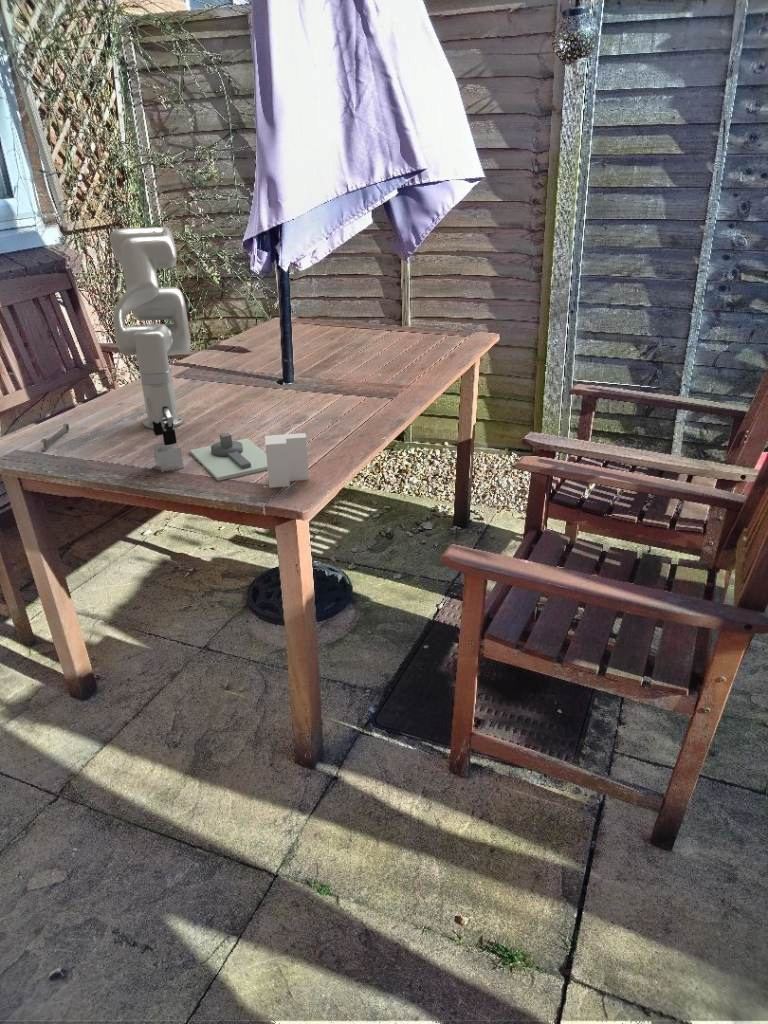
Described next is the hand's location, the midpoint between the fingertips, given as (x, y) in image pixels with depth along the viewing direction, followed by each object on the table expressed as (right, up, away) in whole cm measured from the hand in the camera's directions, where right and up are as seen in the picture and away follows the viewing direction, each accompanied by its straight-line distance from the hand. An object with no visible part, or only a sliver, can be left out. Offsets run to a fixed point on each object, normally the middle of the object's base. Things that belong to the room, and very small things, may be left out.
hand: (165, 439), depth 194 cm
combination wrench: (-41, +2, +24) cm, 48 cm away
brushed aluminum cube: (0, -7, +4) cm, 8 cm away
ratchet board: (+17, -5, +8) cm, 20 cm away
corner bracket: (+34, -11, -3) cm, 36 cm away
